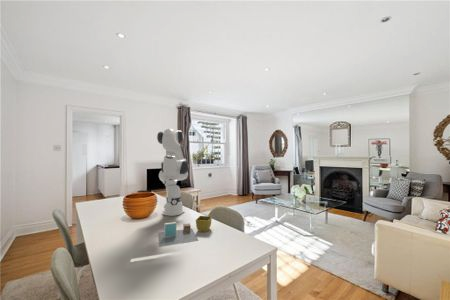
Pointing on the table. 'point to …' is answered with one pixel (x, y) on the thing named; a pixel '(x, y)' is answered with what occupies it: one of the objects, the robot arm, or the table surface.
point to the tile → (170, 229)
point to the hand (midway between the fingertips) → (169, 201)
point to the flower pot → (203, 223)
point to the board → (177, 238)
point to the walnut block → (187, 227)
